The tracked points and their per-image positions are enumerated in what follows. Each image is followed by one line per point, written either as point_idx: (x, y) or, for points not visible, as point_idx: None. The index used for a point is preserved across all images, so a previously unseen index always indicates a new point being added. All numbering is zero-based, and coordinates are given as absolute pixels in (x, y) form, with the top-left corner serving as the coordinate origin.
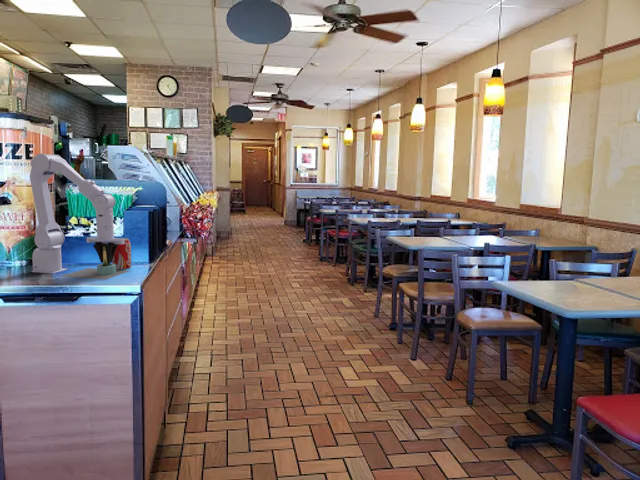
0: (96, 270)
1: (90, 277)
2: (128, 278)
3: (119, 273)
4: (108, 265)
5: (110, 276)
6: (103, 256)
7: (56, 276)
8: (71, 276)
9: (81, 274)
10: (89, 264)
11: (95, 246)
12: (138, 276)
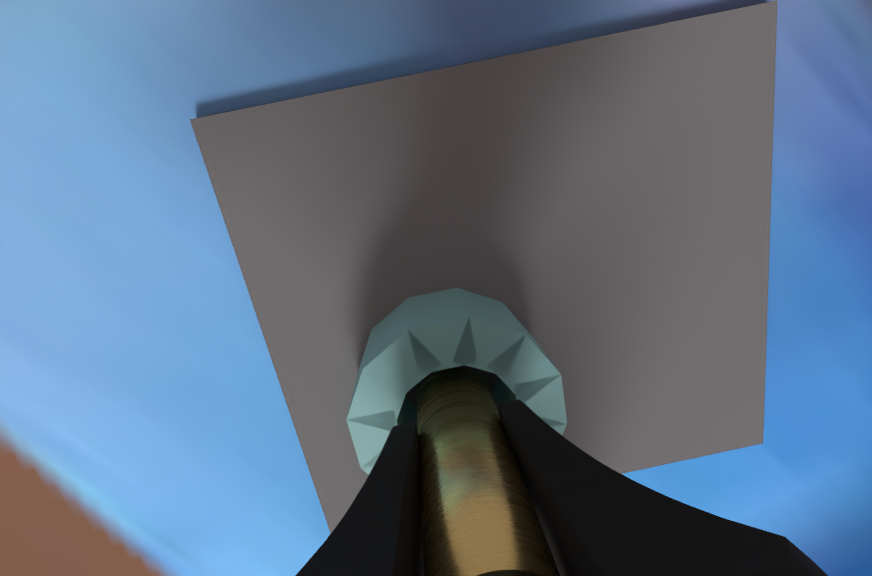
0: (622, 406)
1: (422, 123)
2: (89, 322)
3: (318, 412)
4: (417, 415)
5: (274, 267)
6: (482, 465)
7: (839, 33)
8: (652, 59)
9: (625, 197)
10: (865, 563)
11: (713, 559)
12: (94, 432)
